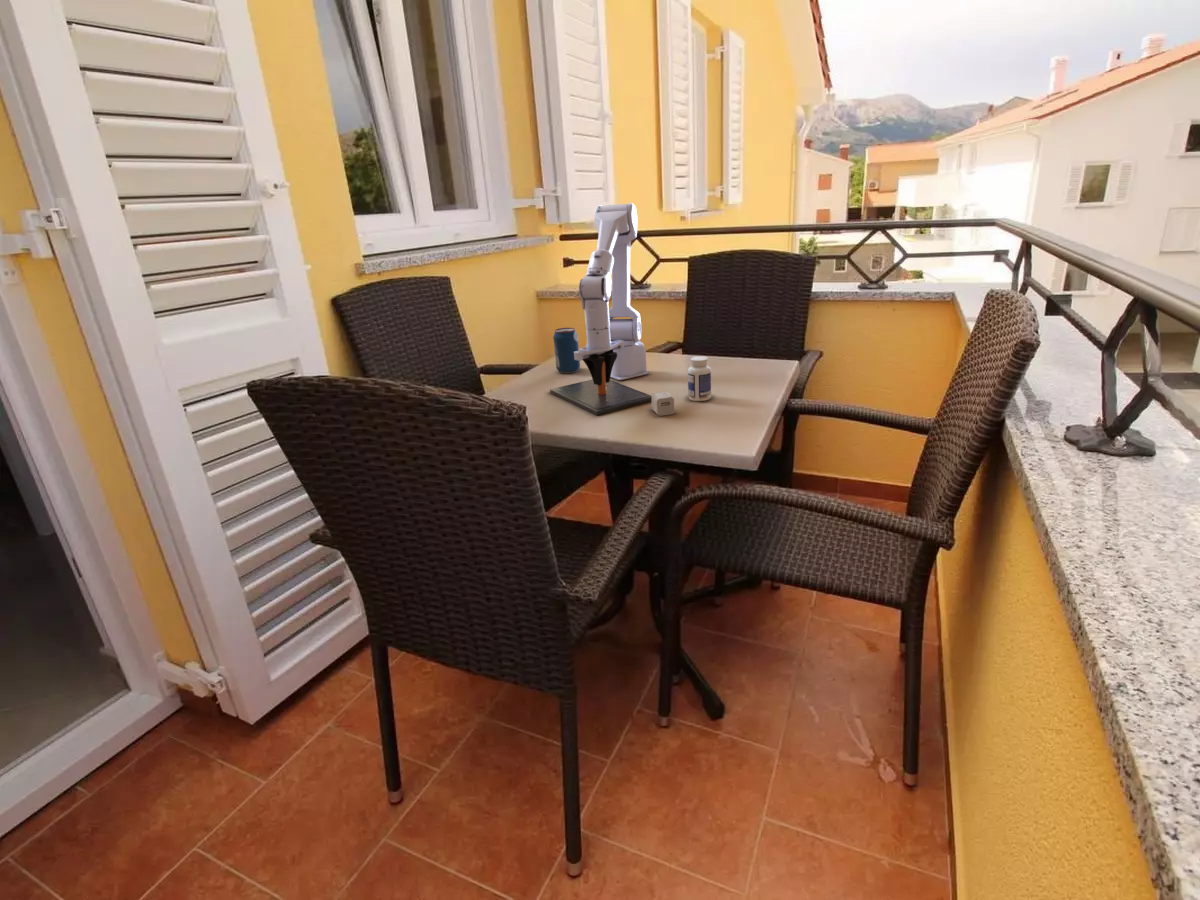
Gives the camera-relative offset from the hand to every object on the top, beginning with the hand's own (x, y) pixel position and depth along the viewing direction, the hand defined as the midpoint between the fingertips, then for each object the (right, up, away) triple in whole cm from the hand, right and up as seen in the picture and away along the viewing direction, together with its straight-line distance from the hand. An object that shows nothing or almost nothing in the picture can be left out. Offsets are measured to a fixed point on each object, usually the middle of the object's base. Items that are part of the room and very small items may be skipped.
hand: (601, 383), depth 154 cm
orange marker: (0, -2, +1) cm, 3 cm away
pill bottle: (+23, -4, -4) cm, 24 cm away
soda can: (-10, +6, +28) cm, 30 cm away
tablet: (0, -3, +3) cm, 4 cm away
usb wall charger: (+14, -8, -10) cm, 19 cm away
